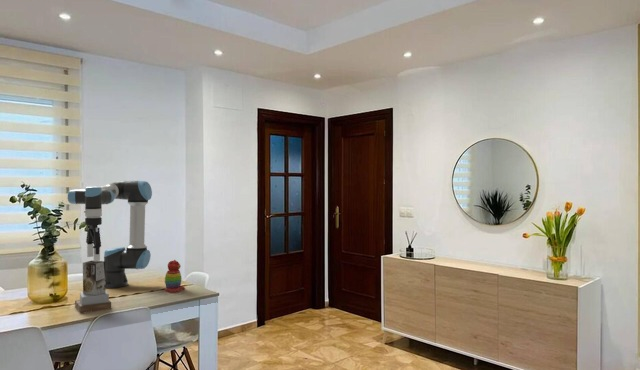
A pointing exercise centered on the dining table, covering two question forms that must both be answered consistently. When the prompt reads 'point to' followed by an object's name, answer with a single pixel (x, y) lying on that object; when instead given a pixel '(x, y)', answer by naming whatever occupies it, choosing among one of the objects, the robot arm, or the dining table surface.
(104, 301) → the top slab
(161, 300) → the dining table surface
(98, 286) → the coffee box
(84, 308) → the base slab
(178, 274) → the stacking bear
